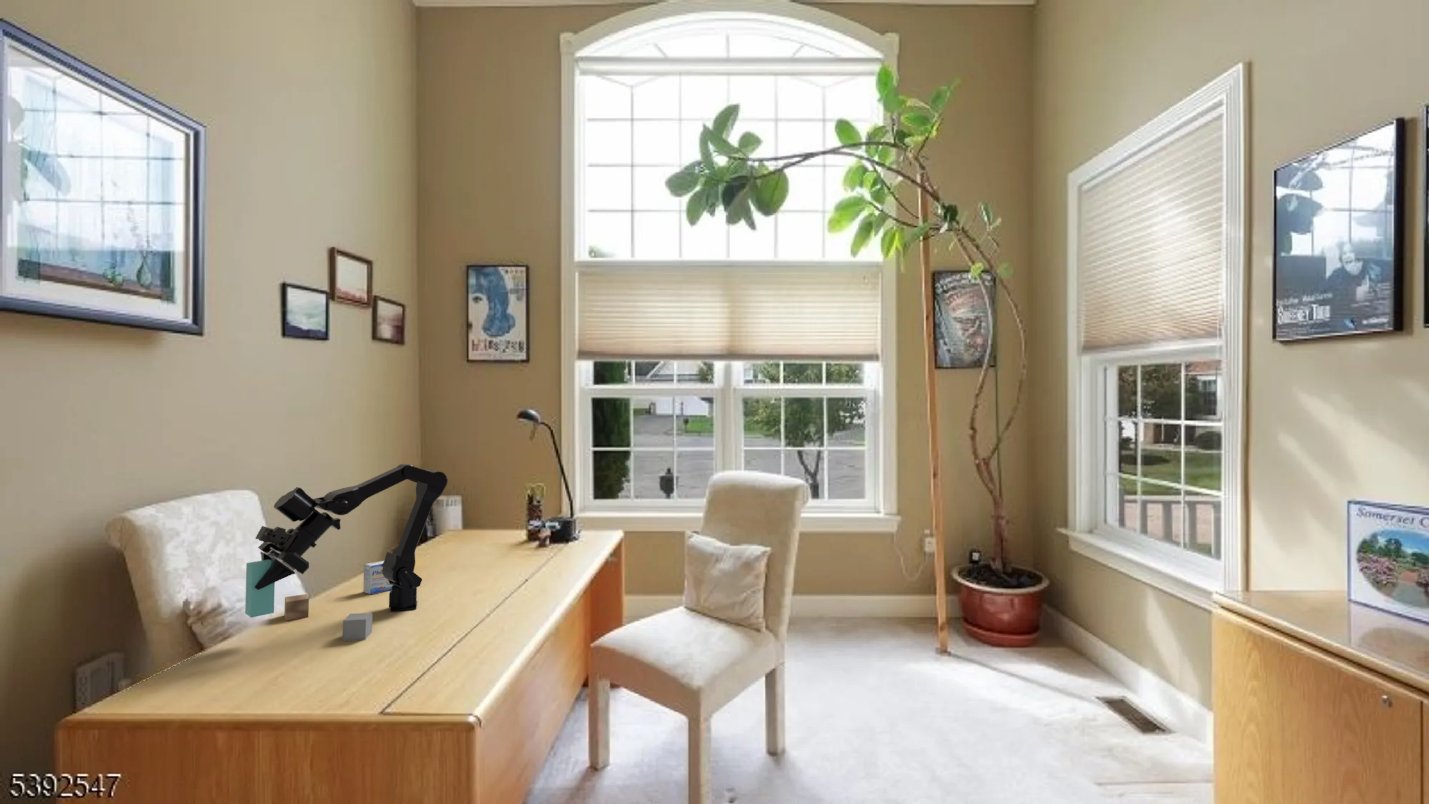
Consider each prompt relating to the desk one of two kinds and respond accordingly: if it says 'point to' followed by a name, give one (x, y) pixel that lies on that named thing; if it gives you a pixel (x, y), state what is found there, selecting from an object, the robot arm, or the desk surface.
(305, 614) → the walnut cube
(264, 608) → the teal block
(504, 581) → the desk surface
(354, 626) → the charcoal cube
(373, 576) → the medicine box
